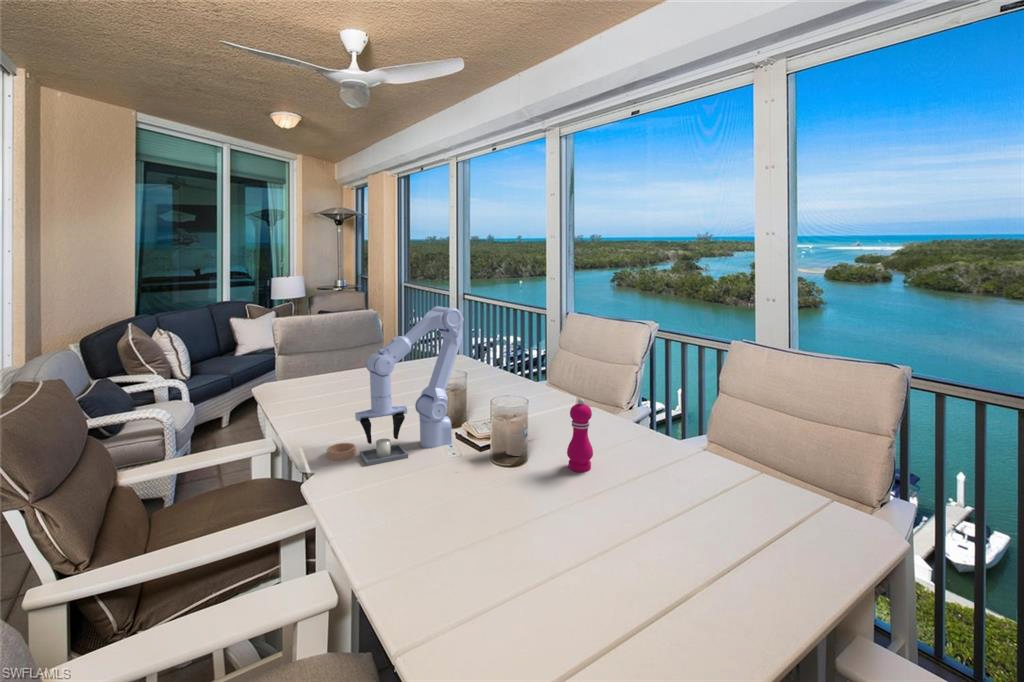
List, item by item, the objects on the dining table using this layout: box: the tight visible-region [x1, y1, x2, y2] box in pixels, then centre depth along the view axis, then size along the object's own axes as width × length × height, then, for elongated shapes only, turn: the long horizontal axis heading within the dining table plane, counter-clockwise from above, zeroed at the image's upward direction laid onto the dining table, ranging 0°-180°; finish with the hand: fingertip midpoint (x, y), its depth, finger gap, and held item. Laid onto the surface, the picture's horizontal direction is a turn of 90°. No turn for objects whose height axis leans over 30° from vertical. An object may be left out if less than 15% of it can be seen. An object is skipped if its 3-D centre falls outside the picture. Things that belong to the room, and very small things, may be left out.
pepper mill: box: [566, 398, 594, 473], centre depth 135 cm, size 7×7×20 cm
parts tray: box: [358, 443, 409, 467], centre depth 143 cm, size 12×9×2 cm
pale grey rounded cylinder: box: [375, 438, 391, 459], centre depth 142 cm, size 4×4×5 cm
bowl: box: [326, 442, 357, 461], centre depth 144 cm, size 8×8×3 cm
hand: (382, 440), depth 142 cm, fingers open, 7 cm apart
